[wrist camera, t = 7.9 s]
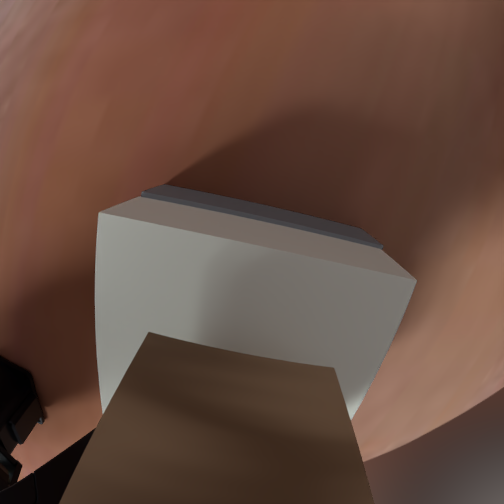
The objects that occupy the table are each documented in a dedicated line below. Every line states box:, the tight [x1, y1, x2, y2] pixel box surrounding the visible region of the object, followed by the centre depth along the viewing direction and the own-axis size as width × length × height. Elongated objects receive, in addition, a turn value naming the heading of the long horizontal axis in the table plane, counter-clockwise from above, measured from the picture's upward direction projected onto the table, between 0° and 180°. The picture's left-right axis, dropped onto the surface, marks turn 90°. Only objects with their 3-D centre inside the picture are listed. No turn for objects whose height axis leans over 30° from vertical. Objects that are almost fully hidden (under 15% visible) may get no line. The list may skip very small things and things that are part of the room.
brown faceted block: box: [59, 332, 374, 504], centre depth 6 cm, size 5×5×6 cm
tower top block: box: [95, 197, 417, 420], centre depth 12 cm, size 10×10×4 cm
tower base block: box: [141, 184, 383, 250], centre depth 15 cm, size 10×10×4 cm
